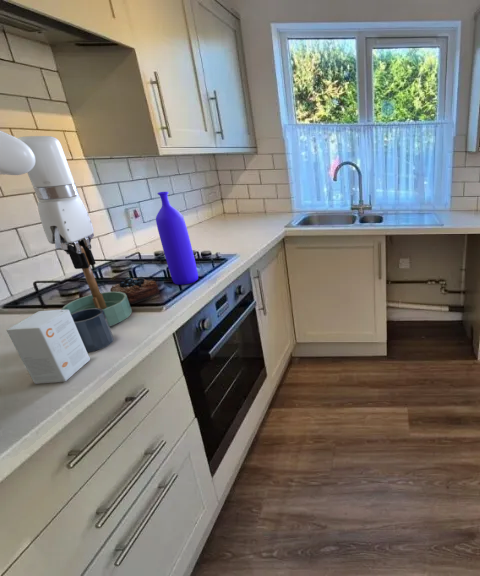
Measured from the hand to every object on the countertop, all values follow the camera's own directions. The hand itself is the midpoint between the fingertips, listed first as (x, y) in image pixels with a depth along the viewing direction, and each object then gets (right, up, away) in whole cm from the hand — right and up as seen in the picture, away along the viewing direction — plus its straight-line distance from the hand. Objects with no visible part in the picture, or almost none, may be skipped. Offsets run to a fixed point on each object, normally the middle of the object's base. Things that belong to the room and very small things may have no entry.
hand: (85, 266), depth 92 cm
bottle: (+8, -3, +33) cm, 34 cm away
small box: (+7, -24, -14) cm, 28 cm away
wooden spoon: (0, -12, +5) cm, 13 cm away
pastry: (-2, -8, +22) cm, 24 cm away
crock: (+6, -19, -4) cm, 21 cm away
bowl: (-2, -14, +7) cm, 16 cm away
